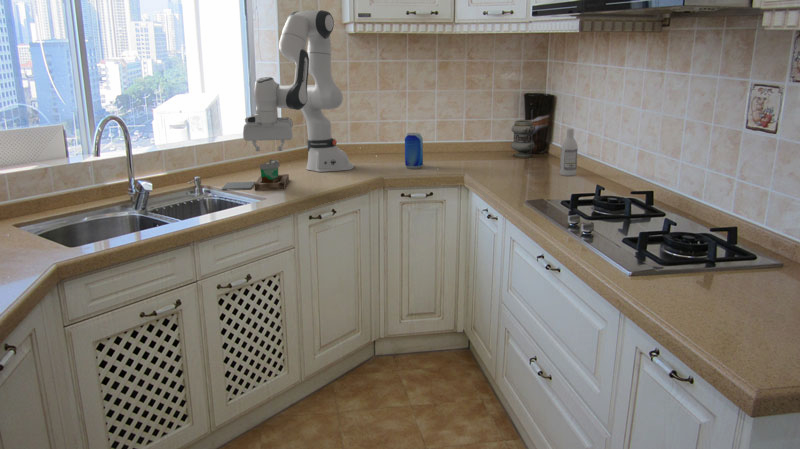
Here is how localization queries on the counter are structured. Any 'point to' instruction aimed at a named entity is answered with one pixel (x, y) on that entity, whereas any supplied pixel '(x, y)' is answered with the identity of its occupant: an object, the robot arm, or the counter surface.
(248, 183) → the mat
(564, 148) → the bath foam
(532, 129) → the apothecary jar
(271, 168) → the food container
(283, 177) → the pocket frame
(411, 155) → the beer can
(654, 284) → the counter surface
